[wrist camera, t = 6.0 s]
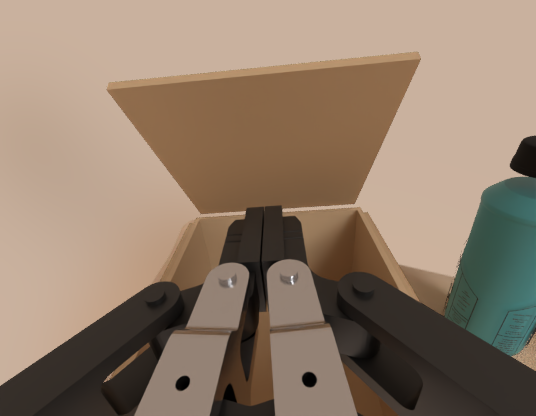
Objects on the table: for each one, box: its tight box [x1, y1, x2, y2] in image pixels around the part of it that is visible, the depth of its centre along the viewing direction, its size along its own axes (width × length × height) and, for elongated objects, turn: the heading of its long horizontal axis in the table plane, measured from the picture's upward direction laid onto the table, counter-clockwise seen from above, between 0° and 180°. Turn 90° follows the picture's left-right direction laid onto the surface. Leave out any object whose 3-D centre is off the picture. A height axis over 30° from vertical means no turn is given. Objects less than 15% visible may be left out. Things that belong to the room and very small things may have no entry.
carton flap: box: [107, 52, 421, 214], centre depth 20 cm, size 15×15×1 cm
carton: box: [110, 207, 420, 416], centre depth 21 cm, size 17×18×13 cm
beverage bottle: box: [444, 136, 536, 356], centre depth 22 cm, size 6×7×20 cm
